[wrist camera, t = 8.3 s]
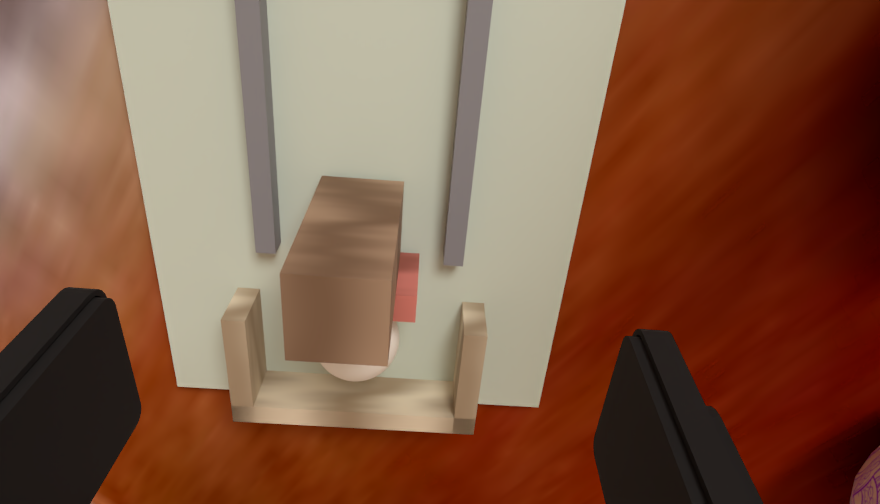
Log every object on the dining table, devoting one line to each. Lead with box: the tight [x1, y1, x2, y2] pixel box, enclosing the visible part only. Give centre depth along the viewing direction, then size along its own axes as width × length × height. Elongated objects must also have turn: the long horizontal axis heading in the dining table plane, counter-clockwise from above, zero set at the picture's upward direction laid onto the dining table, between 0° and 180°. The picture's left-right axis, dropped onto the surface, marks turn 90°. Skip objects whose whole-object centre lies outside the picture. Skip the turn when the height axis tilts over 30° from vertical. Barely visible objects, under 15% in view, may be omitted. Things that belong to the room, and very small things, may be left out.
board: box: [107, 0, 626, 407], centre depth 31 cm, size 22×25×2 cm
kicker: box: [280, 176, 420, 367], centre depth 27 cm, size 6×6×9 cm
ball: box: [321, 321, 399, 382], centre depth 32 cm, size 4×4×4 cm
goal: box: [221, 287, 488, 435], centre depth 34 cm, size 14×7×3 cm, turn 86°
